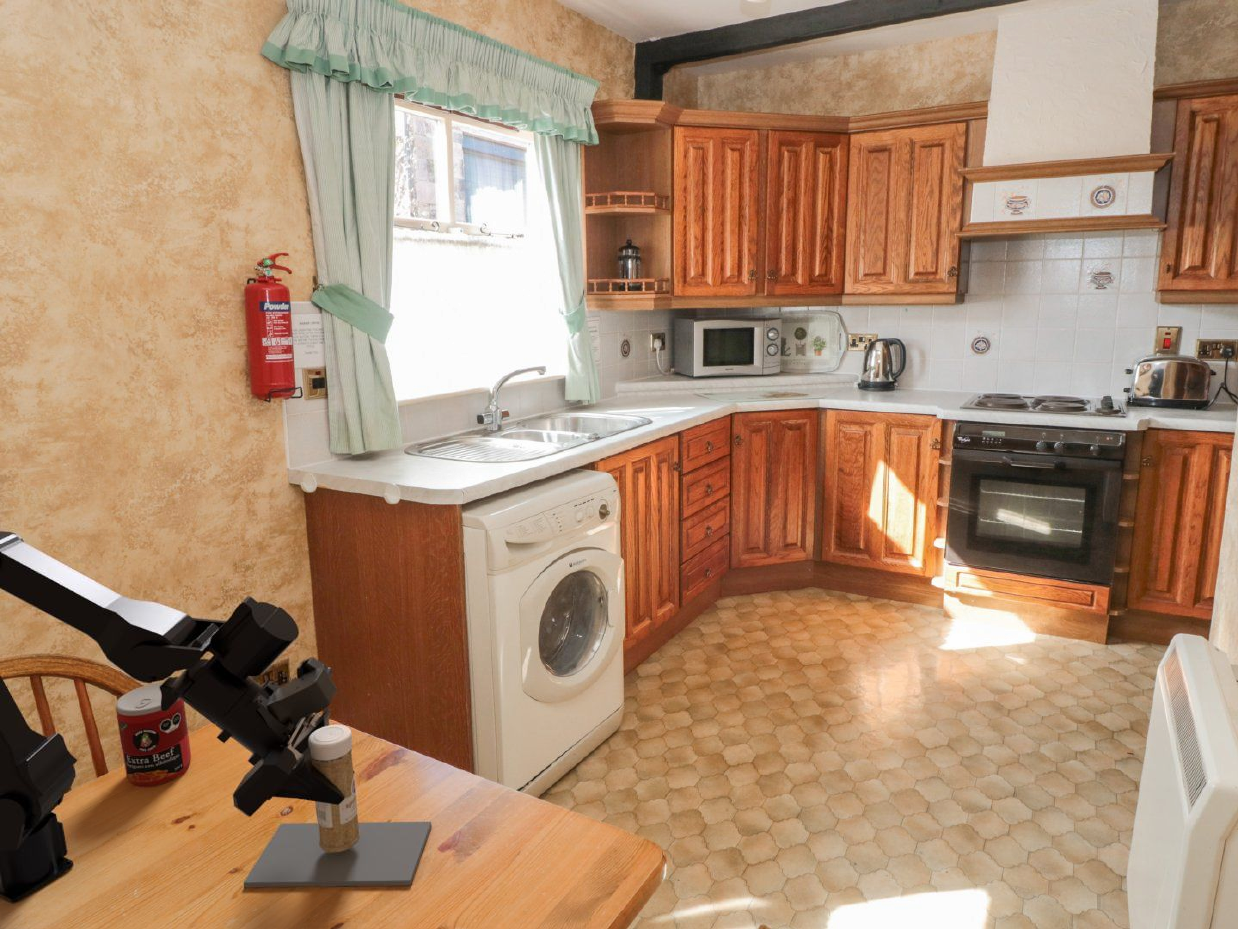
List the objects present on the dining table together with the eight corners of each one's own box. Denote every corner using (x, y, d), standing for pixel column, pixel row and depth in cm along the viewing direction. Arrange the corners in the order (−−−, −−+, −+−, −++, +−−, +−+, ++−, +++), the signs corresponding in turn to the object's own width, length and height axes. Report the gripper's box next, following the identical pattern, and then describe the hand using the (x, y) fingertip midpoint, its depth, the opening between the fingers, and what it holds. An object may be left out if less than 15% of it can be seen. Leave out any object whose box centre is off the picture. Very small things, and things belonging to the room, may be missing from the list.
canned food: (119, 793, 107) (106, 715, 104) (137, 759, 114) (125, 686, 112) (184, 782, 108) (173, 706, 106) (197, 751, 116) (187, 678, 114)
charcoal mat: (244, 887, 89) (243, 882, 89) (281, 828, 99) (280, 823, 99) (410, 885, 89) (410, 880, 89) (431, 826, 99) (431, 821, 99)
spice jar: (364, 846, 93) (354, 738, 90) (321, 859, 91) (310, 749, 88) (356, 823, 97) (347, 719, 94) (315, 835, 95) (304, 729, 92)
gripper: (254, 692, 79) (379, 789, 83) (309, 617, 98) (409, 699, 101) (178, 770, 80) (304, 863, 83) (246, 682, 98) (348, 761, 102)
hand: (347, 788), depth 92 cm, fingers closed on spice jar, 4 cm apart
